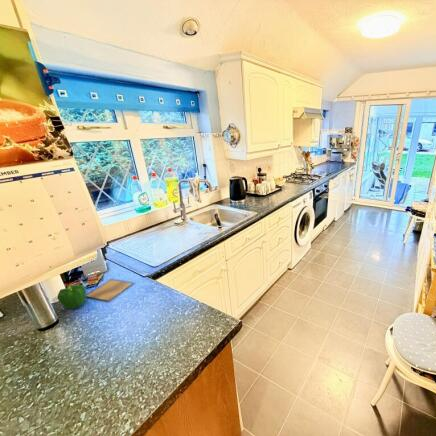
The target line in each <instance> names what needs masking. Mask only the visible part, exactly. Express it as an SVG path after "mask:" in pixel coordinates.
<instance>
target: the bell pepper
mask: <svg viewBox="0 0 436 436" xmlns="http://www.w3.org/2000/svg"><path fill="white" fill-rule="evenodd" d="M86 296H87V291H86V288H85V286H84V285H83V284H76V283H75V284H74V283H73V284H71V285H69V286H67V287H66V288H65V287H64V288H62V289H59V291H58V294H57V296H56V297H57V300H58V302H59V303H60V304H61V306H62V307H64V308H66V309H71V310H73V309H79V308H80V307H82V306H83V305H84V303H85V301H86V298H87V297H86Z"/></svg>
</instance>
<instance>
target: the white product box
mask: <svg viewBox="0 0 436 436" xmlns="http://www.w3.org/2000/svg"><path fill="white" fill-rule="evenodd" d="M81 267H82V268H81V270H82V272H83V275H84V277H85V278H88V277H91V276H95V275H98V274H102V273H105V272H108V267H107V263H106V261H105V259H104V256H103V253H102V250H101V249H99V250H98V257H97V259H96V260H94V261H92V262H90V263H87V264H84V265H82V266H81ZM95 271H100V272H97V273H94V274H90V273H92V272H95ZM88 274H90V275H88ZM85 275H86V276H85Z"/></svg>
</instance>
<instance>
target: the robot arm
mask: <svg viewBox="0 0 436 436" xmlns="http://www.w3.org/2000/svg"><path fill="white" fill-rule="evenodd" d="M107 247H110V243H109V242H108V241H107V245H106V246H105V247H104V248H101V250H102V253H103V256H104V260H105V262H106V261H107V260H108V258H107V254H108V250H107ZM78 267H79V266H78ZM79 269H82V267H81V266H80V267H79Z"/></svg>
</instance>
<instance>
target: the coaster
mask: <svg viewBox="0 0 436 436" xmlns="http://www.w3.org/2000/svg"><path fill="white" fill-rule="evenodd" d="M130 286H132V283H131V282H125V281H121V280H114V279H110V280H108V281H107V282H105V283H103V284H102V285H100V286H99V287H97V288H96V289H94V290H93V291H92V292H90V293H88V294H86V298H91V299H96V300H102V301H106V302H110V301H111V300H112V299H114V298H115V297H117V296H118V295H119V294H121V293H122V292H123V291H125V290H126V289H127V288H129V287H130Z"/></svg>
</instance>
